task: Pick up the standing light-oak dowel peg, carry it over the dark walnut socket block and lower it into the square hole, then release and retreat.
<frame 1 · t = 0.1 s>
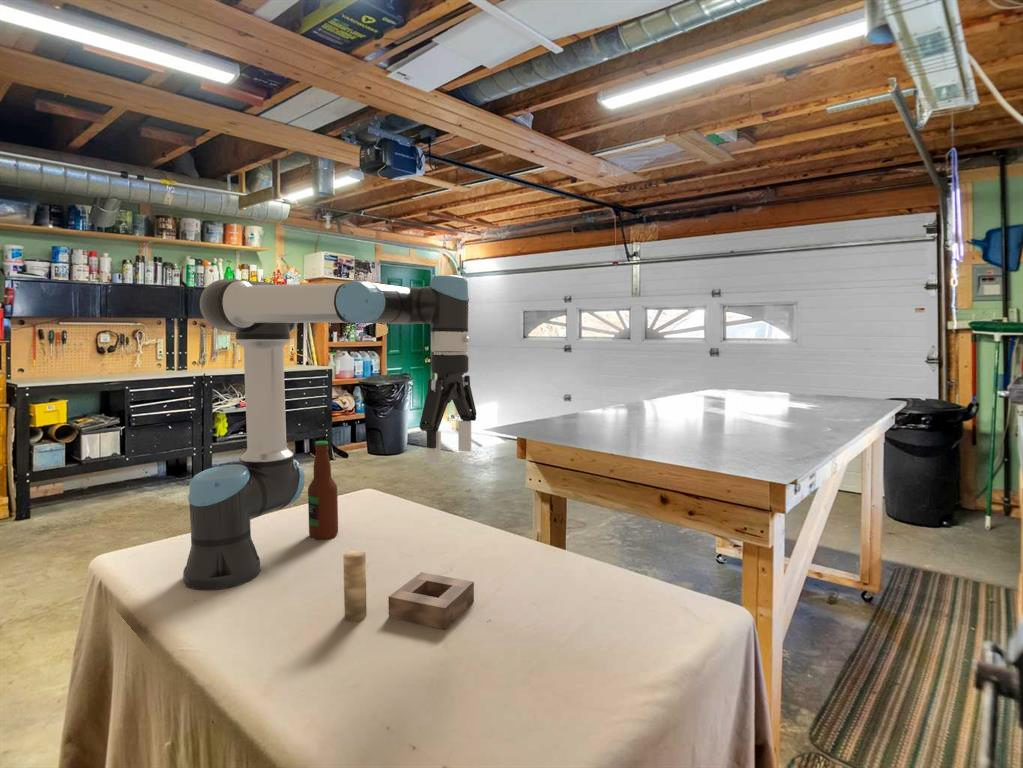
hand: (450, 457, 119), 28 cm above the table, fingers open, 13 cm apart
bottle: (323, 536, 153), on the table
oak peg: (355, 616, 110), on the table
walnut socket: (432, 608, 113), on the table
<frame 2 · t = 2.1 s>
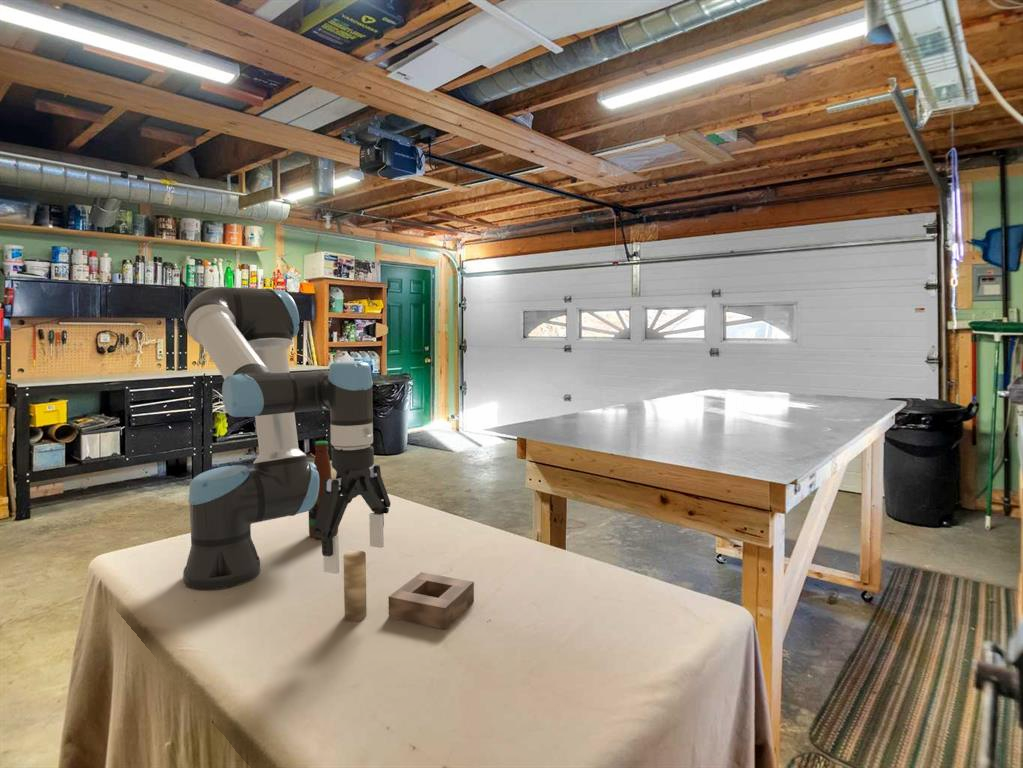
hand: (355, 558, 108), 11 cm above the table, fingers open, 13 cm apart
nothing on the table moved.
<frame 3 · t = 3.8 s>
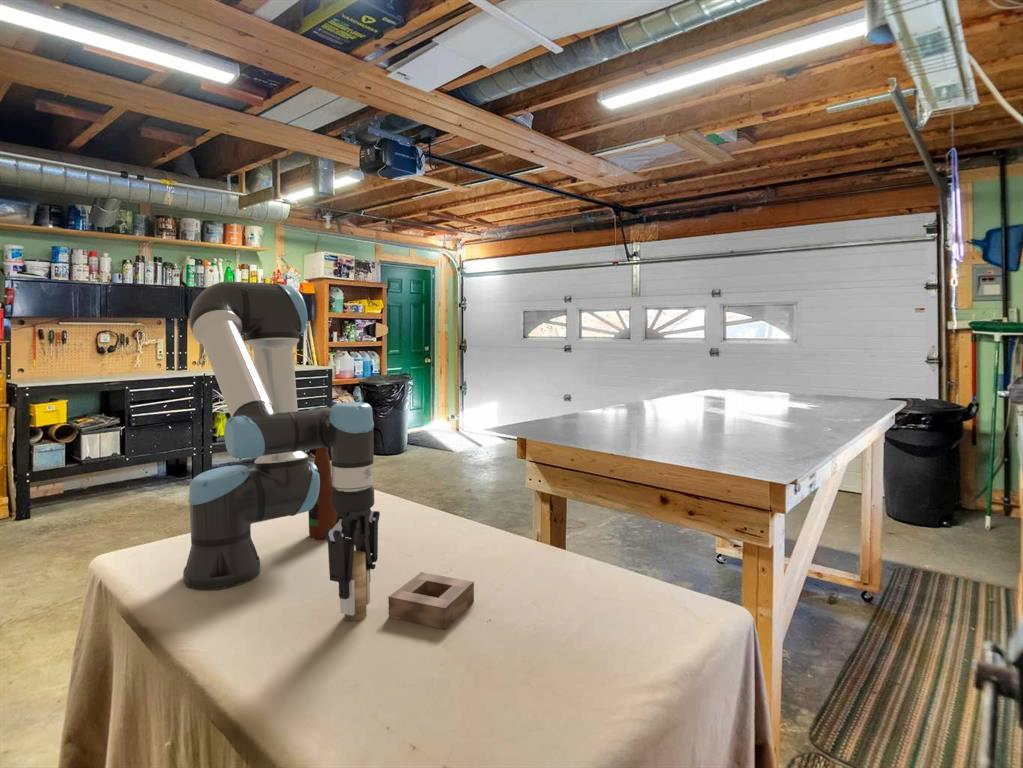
hand: (355, 607, 109), 2 cm above the table, fingers closed on oak peg, 4 cm apart
oak peg: (355, 615, 110), on the table, touching gripper
everything else where it was.
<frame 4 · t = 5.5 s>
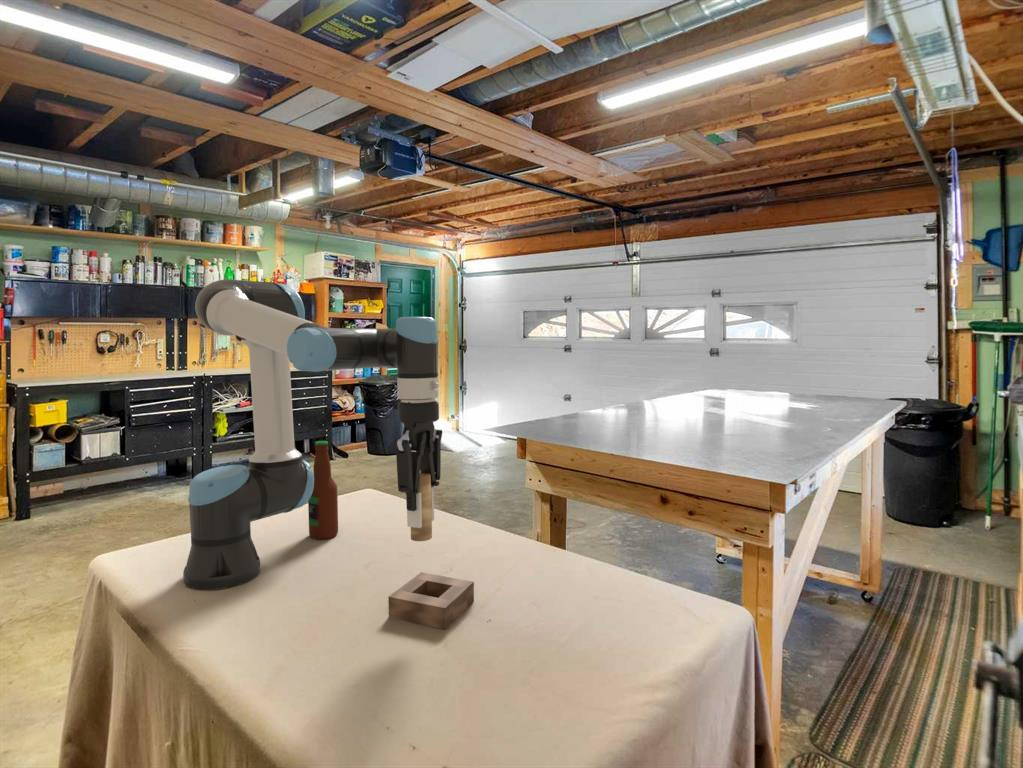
hand: (421, 522, 110), 17 cm above the table, fingers closed on oak peg, 4 cm apart
oak peg: (421, 537, 110), point 15 cm above the table, touching gripper
everything else where it was.
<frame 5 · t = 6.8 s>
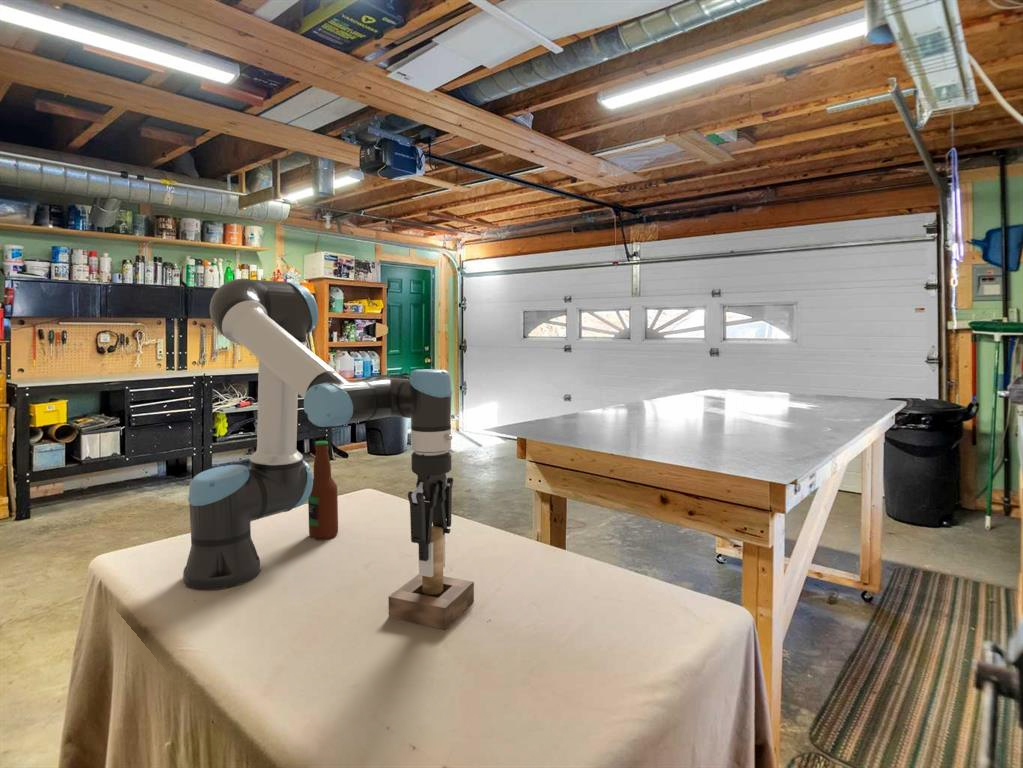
hand: (432, 570, 112), 8 cm above the table, fingers closed on oak peg, 4 cm apart
oak peg: (432, 590, 112), point 4 cm above the table, touching gripper
everything else where it was.
when the fingers open (5 cm above the table, at t = 7.6 s): oak peg stays where it is, resting in walnut socket.
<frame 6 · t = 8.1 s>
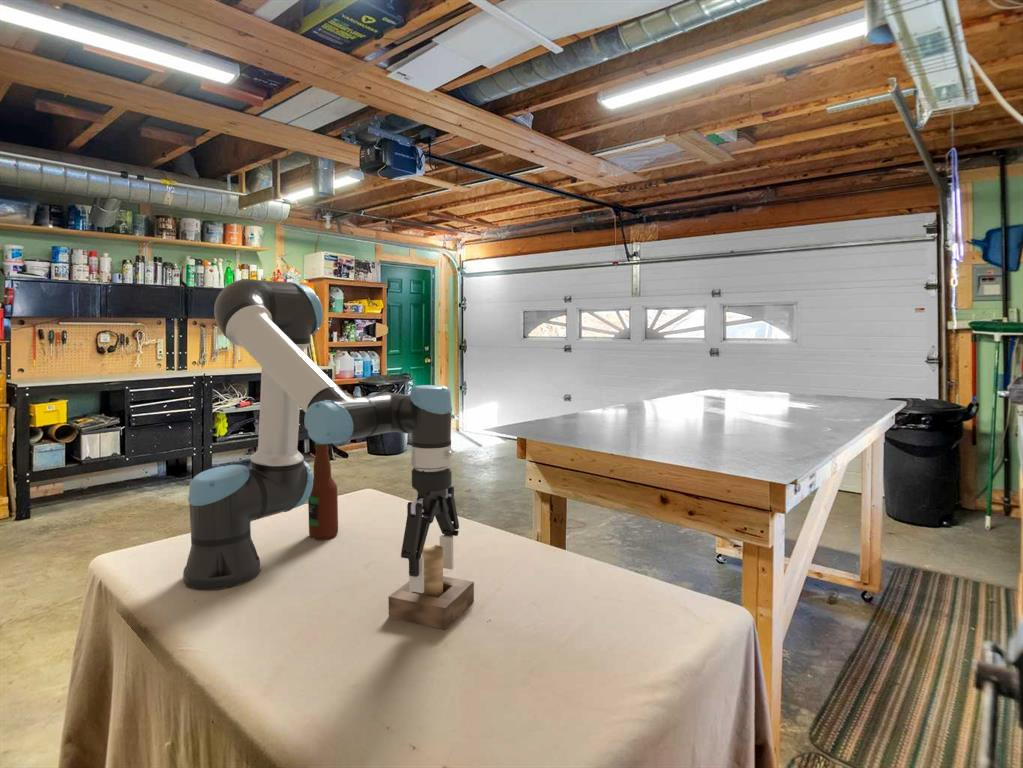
hand: (432, 579, 112), 6 cm above the table, fingers open, 11 cm apart
oak peg: (432, 608, 113), resting in walnut socket
everything else where it was.
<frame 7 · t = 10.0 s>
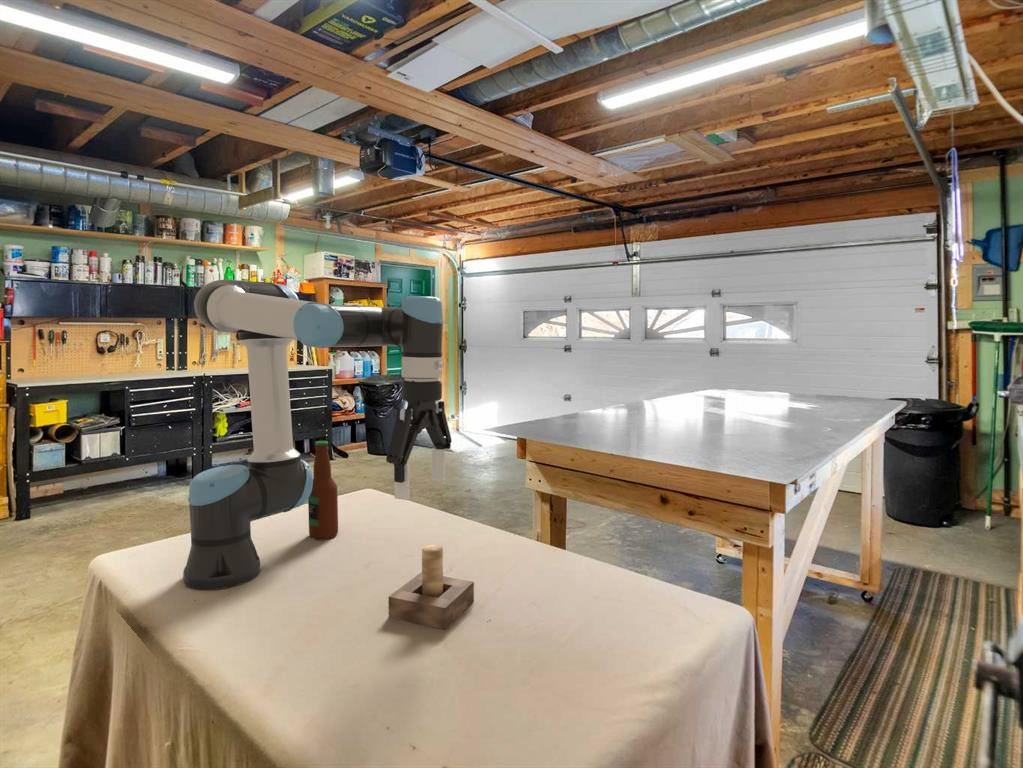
hand: (421, 489, 111), 23 cm above the table, fingers open, 13 cm apart
nothing on the table moved.
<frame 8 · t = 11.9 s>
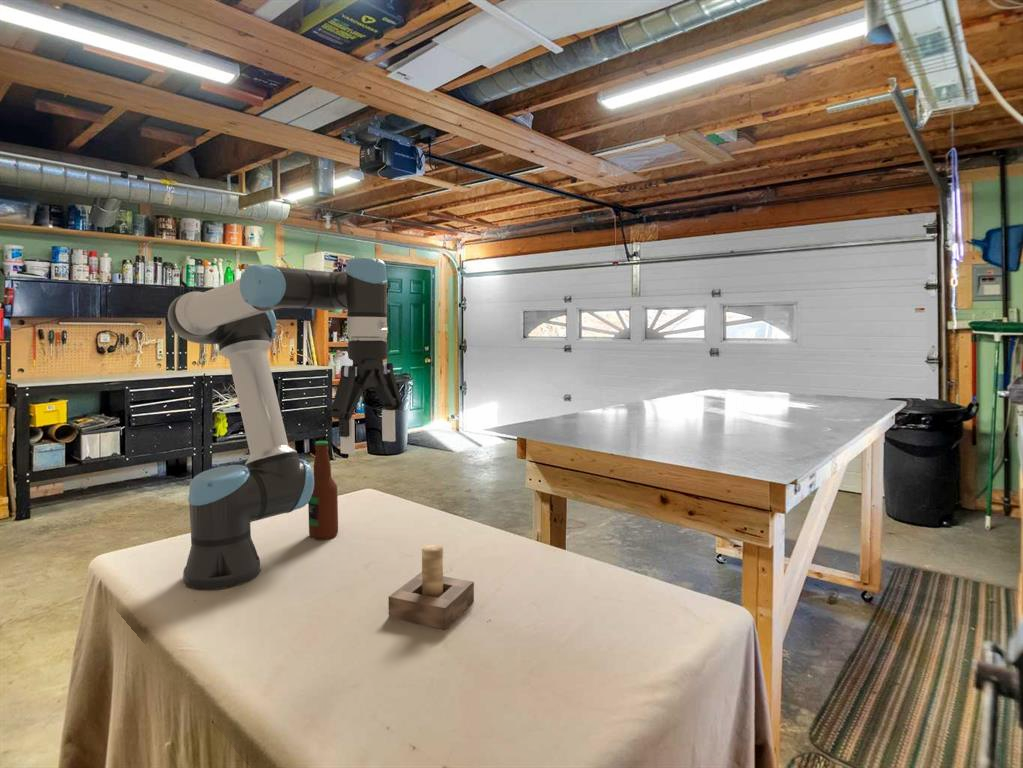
hand: (369, 447, 115), 31 cm above the table, fingers open, 13 cm apart
nothing on the table moved.
at the end: oak peg 0.0 cm off-centre on the walnut socket, point 0.0 cm above the walnut socket's base; oak peg tilted 0°; the gripper is holding nothing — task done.
